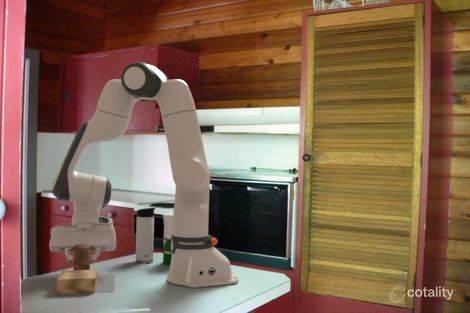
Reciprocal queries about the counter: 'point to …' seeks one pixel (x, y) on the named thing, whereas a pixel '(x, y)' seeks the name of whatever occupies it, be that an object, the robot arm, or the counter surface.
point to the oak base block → (77, 281)
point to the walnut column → (81, 257)
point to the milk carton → (168, 237)
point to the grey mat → (103, 285)
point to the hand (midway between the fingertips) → (81, 261)
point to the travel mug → (145, 235)
